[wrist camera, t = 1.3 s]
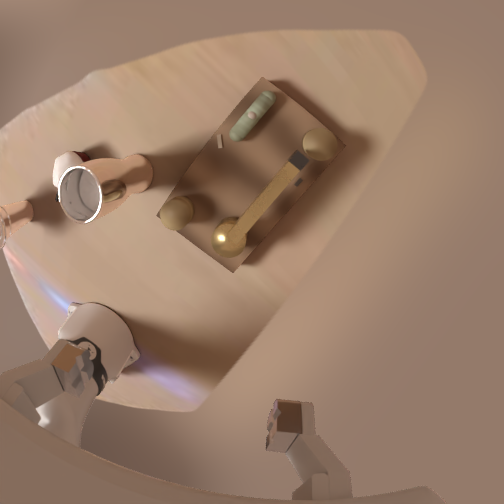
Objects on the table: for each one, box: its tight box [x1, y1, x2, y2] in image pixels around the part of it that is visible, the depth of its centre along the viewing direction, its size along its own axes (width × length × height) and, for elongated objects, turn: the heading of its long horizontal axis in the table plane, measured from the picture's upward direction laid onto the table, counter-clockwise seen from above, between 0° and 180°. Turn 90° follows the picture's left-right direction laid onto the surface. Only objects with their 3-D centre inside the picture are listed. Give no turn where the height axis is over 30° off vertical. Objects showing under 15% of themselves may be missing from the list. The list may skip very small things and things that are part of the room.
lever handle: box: [211, 150, 310, 258], centre depth 35 cm, size 16×4×5 cm, turn 141°
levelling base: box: [156, 77, 346, 273], centre depth 36 cm, size 24×14×6 cm, turn 141°
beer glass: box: [58, 154, 153, 224], centre depth 33 cm, size 7×7×15 cm
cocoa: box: [53, 151, 90, 202], centre depth 34 cm, size 10×6×12 cm, turn 39°
